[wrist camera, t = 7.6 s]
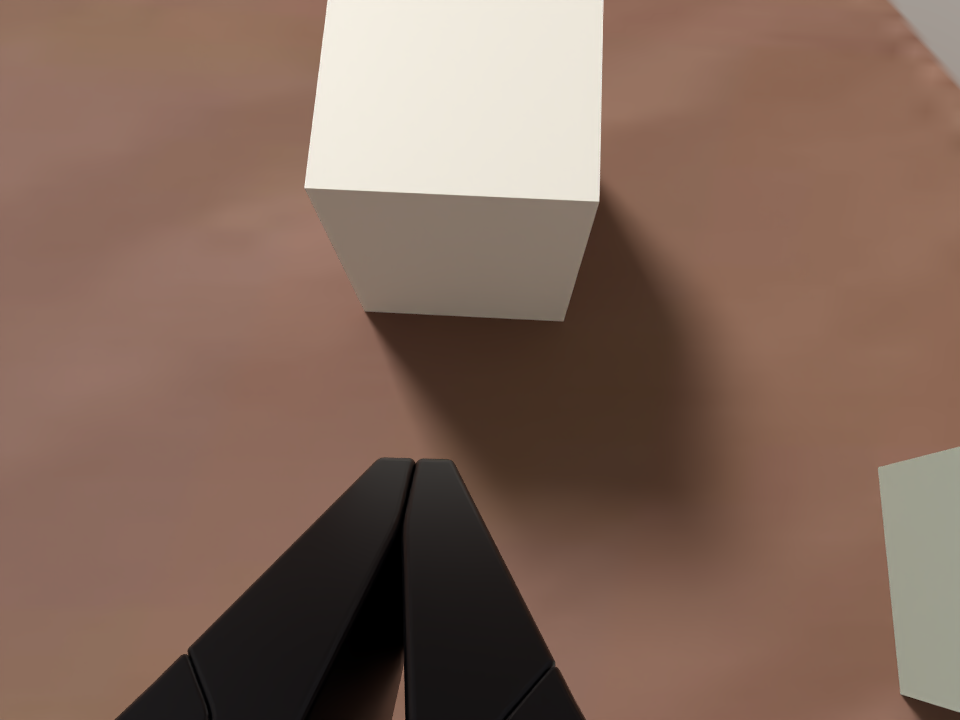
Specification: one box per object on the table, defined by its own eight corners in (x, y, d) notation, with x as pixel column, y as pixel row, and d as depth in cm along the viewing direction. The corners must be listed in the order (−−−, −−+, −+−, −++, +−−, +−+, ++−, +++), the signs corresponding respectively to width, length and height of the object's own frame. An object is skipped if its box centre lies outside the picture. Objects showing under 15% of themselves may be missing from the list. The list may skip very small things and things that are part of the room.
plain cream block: (563, 321, 24) (599, 201, 16) (364, 311, 24) (304, 188, 16) (569, 142, 25) (604, -47, 17) (382, 134, 25) (334, -57, 18)
